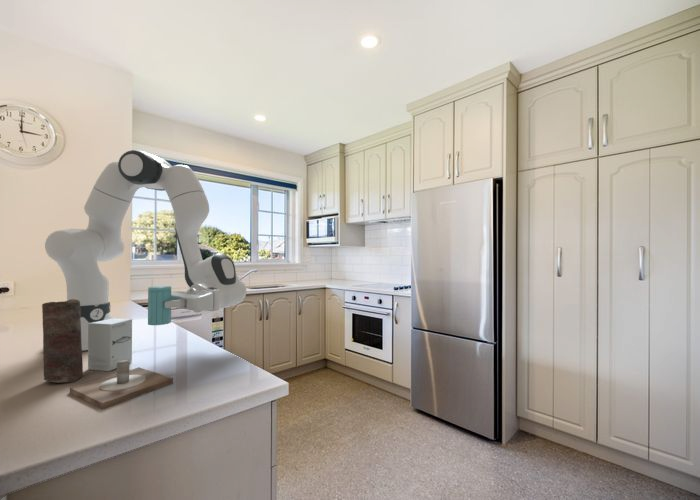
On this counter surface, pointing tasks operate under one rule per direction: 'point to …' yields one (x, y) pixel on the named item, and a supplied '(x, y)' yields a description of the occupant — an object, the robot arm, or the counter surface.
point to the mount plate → (120, 385)
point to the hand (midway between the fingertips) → (156, 303)
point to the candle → (62, 341)
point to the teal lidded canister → (158, 305)
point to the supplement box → (109, 343)
